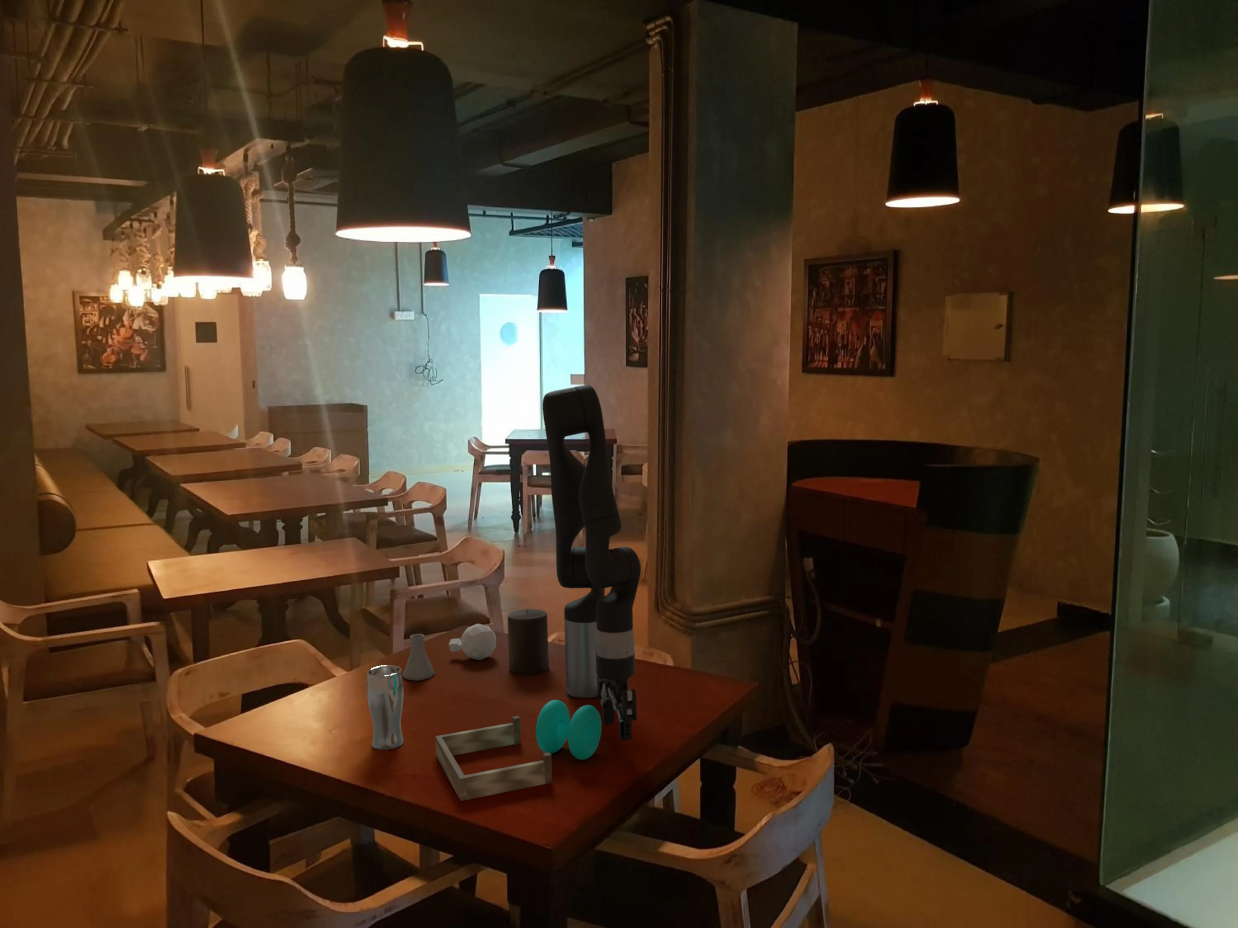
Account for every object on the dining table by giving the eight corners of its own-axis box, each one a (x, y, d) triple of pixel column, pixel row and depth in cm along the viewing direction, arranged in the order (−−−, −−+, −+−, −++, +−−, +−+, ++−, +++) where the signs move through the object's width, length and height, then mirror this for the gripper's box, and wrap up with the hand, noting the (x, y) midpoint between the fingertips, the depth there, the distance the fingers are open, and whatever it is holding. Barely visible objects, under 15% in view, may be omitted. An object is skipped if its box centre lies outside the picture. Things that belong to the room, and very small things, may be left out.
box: (519, 740, 187) (518, 715, 186) (552, 782, 168) (551, 754, 168) (436, 755, 180) (435, 729, 180) (461, 801, 162) (459, 772, 161)
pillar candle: (536, 677, 224) (534, 615, 222) (501, 671, 228) (499, 611, 226) (556, 664, 232) (554, 605, 230) (522, 659, 236) (520, 601, 235)
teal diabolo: (559, 740, 187) (558, 691, 186) (604, 748, 183) (603, 698, 181) (533, 760, 178) (532, 709, 177) (580, 769, 174) (579, 717, 172)
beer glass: (372, 753, 182) (368, 678, 180) (367, 740, 188) (363, 667, 187) (408, 747, 185) (405, 673, 183) (402, 734, 191) (398, 662, 189)
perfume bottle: (503, 644, 243) (459, 649, 245) (495, 615, 239) (450, 619, 241) (496, 665, 235) (450, 669, 237) (487, 635, 231) (441, 639, 233)
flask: (420, 669, 231) (418, 629, 230) (440, 674, 227) (438, 634, 225) (397, 677, 225) (395, 637, 224) (417, 683, 221) (416, 642, 220)
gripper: (648, 658, 177) (649, 741, 178) (618, 638, 190) (620, 715, 192) (611, 664, 174) (612, 748, 176) (584, 643, 187) (585, 721, 189)
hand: (616, 731), depth 184 cm, fingers open, 8 cm apart
